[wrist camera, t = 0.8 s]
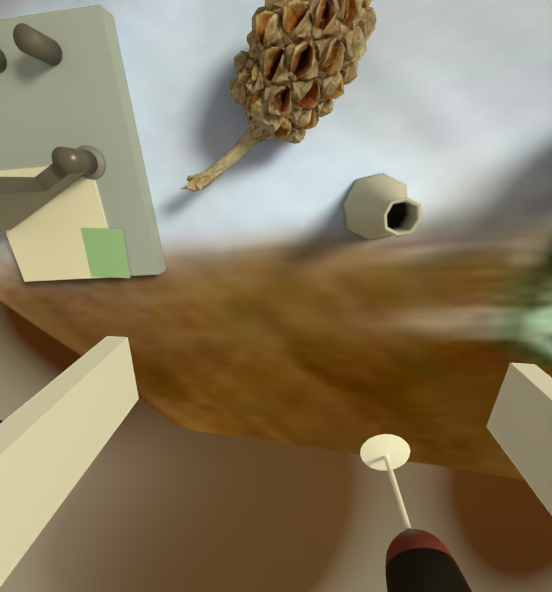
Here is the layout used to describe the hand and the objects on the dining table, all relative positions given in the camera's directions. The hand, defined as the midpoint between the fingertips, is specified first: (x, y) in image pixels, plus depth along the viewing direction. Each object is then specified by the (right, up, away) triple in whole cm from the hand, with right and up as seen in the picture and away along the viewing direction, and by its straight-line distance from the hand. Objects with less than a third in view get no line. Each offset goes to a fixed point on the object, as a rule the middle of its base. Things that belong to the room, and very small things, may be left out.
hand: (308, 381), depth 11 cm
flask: (+10, +13, +24) cm, 29 cm away
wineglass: (+16, -21, +36) cm, 45 cm away
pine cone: (-2, +22, +21) cm, 31 cm away
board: (-25, +18, +24) cm, 39 cm away
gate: (-27, +15, +23) cm, 38 cm away
